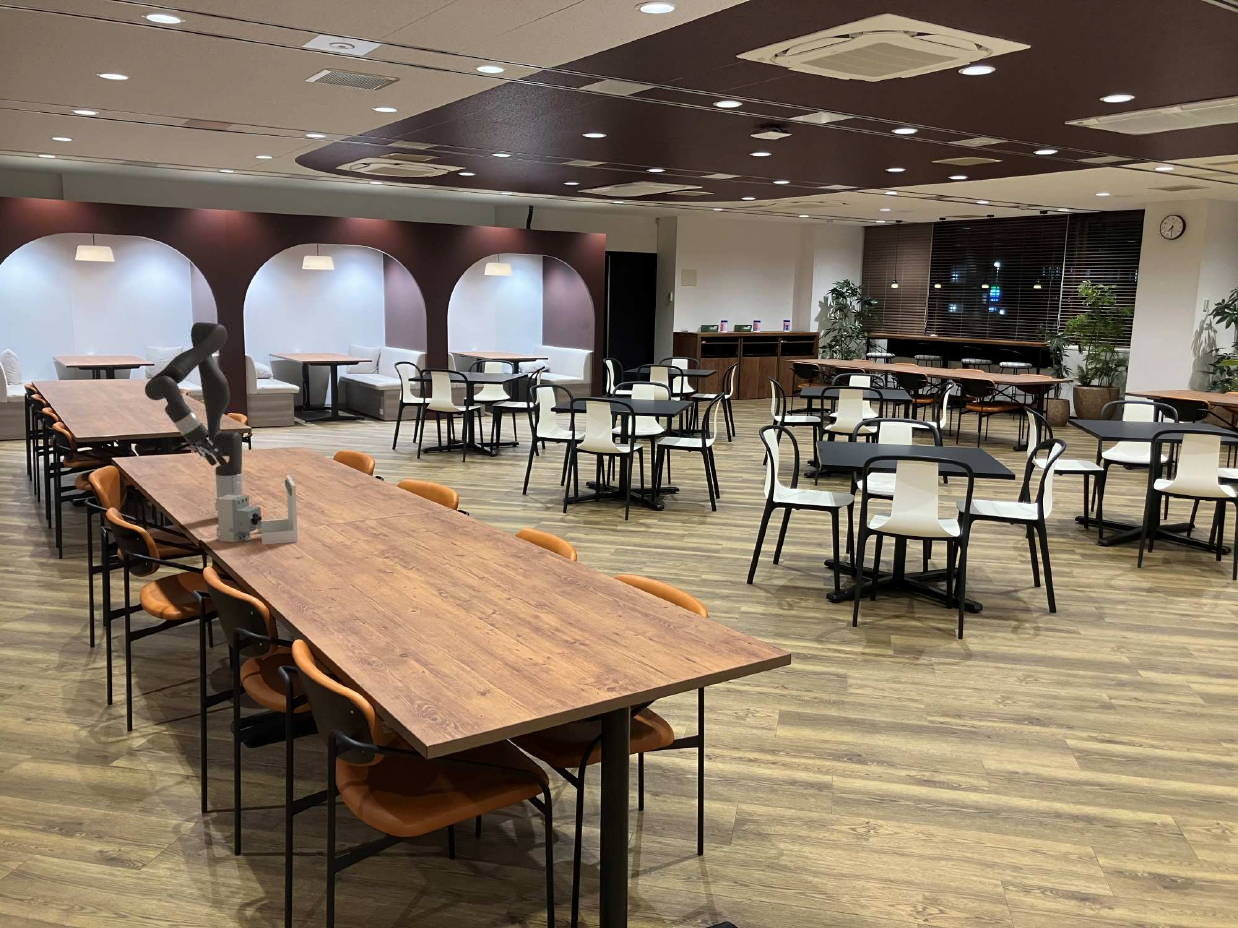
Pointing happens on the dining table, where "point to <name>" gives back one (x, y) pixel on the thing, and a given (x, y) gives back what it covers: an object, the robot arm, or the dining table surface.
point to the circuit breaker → (236, 518)
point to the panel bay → (282, 521)
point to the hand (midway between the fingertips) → (219, 464)
